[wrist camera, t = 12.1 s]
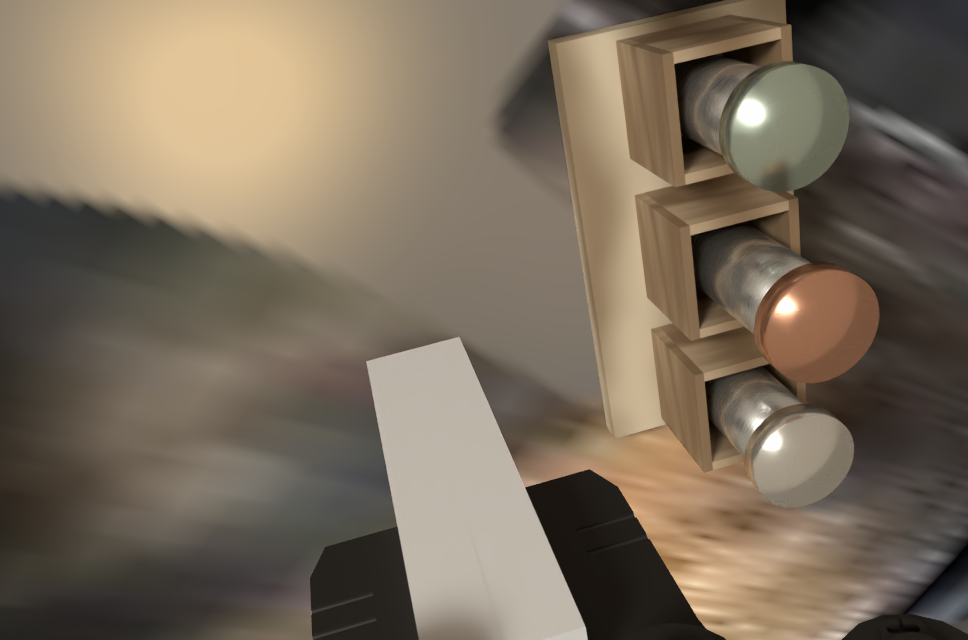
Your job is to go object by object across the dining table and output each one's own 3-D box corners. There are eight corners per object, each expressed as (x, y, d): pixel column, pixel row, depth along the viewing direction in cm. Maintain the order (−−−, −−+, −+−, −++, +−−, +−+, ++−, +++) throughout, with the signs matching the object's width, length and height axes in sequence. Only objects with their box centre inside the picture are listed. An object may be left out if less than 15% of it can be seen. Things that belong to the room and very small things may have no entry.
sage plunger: (644, 151, 45) (736, 204, 36) (633, 51, 43) (727, 81, 34) (736, 128, 46) (850, 175, 36) (730, 28, 44) (848, 52, 34)
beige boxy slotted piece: (606, 426, 54) (652, 495, 47) (547, 40, 44) (594, 58, 38) (789, 375, 55) (859, 435, 49) (770, -11, 46) (853, -2, 39)
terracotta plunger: (675, 307, 47) (770, 396, 37) (665, 217, 45) (764, 289, 35) (764, 283, 47) (879, 365, 38) (758, 194, 45) (879, 258, 36)
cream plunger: (675, 417, 52) (759, 519, 43) (666, 341, 50) (752, 432, 41) (754, 394, 52) (854, 491, 43) (749, 319, 50) (853, 403, 41)
